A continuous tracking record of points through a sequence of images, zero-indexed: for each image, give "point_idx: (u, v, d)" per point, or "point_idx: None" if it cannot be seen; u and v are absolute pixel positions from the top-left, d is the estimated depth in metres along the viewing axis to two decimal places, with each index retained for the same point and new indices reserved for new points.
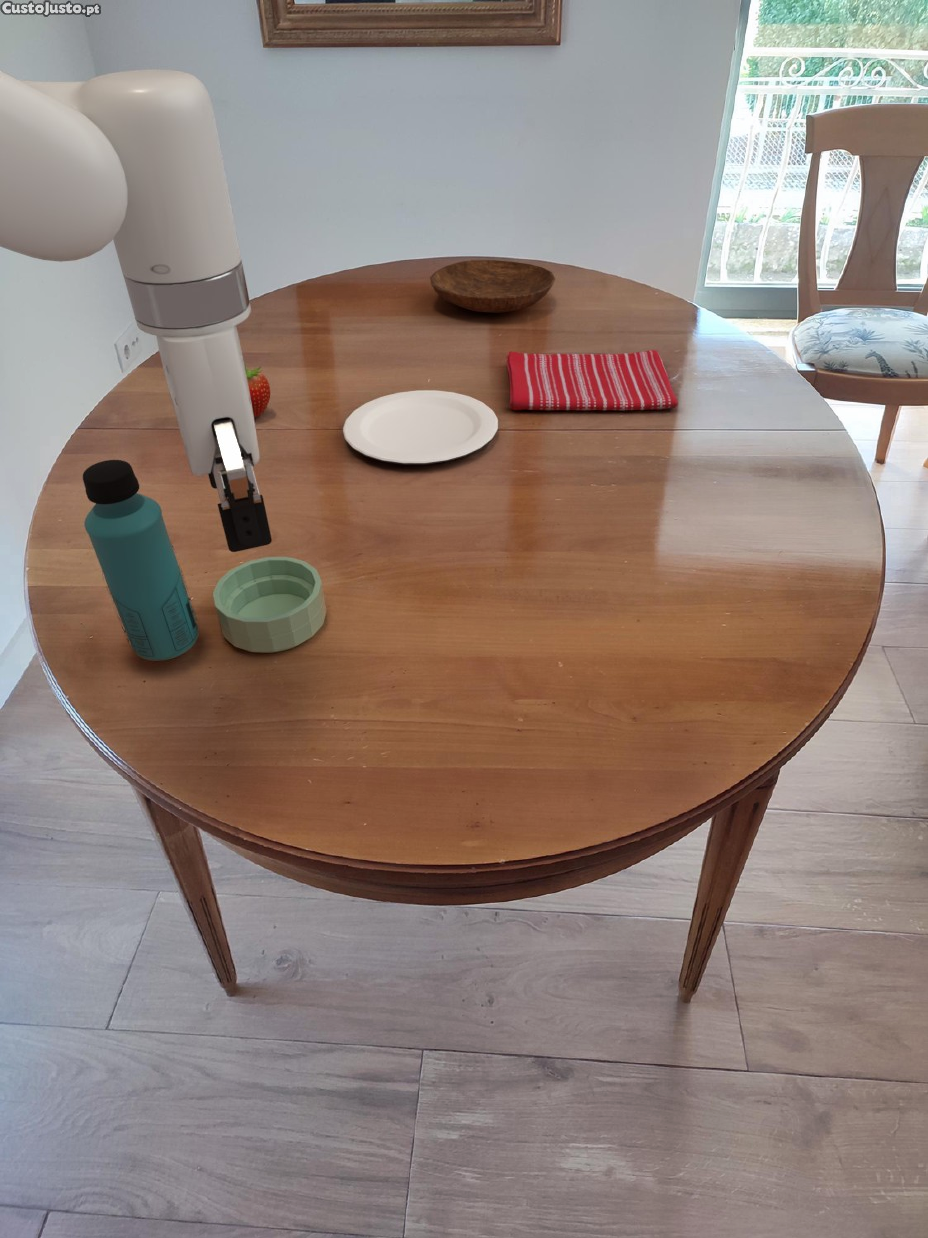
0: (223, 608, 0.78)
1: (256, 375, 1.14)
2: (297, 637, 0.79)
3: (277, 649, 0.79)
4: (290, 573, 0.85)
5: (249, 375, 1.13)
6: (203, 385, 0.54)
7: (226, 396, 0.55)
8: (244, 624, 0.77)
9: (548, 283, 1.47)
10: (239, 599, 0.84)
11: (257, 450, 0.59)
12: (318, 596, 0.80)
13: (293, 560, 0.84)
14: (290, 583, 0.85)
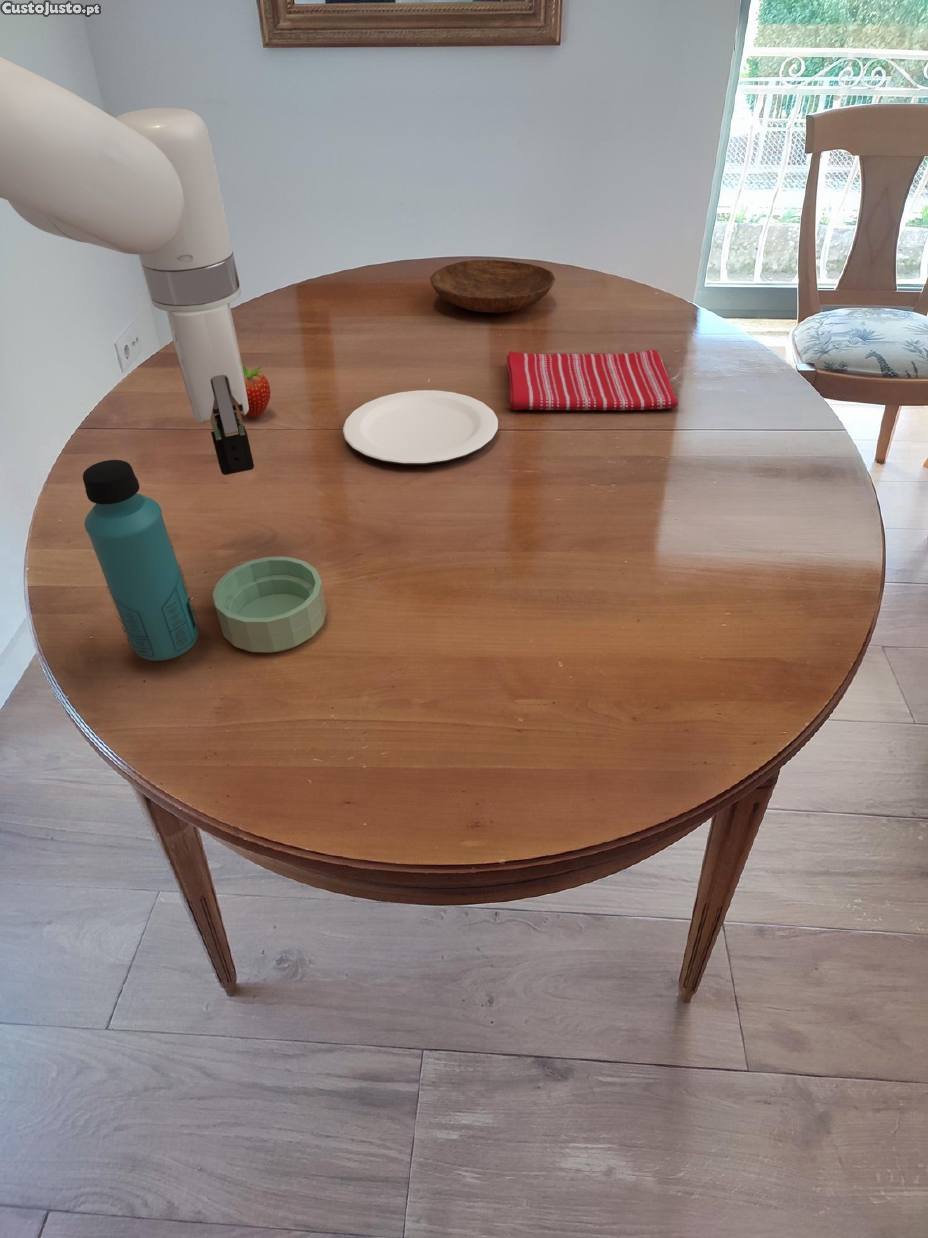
0: (223, 608, 0.78)
1: (256, 375, 1.14)
2: (297, 637, 0.79)
3: (277, 649, 0.79)
4: (290, 573, 0.85)
5: (249, 375, 1.13)
6: (204, 349, 0.70)
7: (222, 358, 0.71)
8: (244, 624, 0.77)
9: (548, 283, 1.47)
10: (239, 599, 0.84)
11: (246, 402, 0.75)
12: (318, 596, 0.80)
13: (293, 560, 0.84)
14: (290, 583, 0.85)
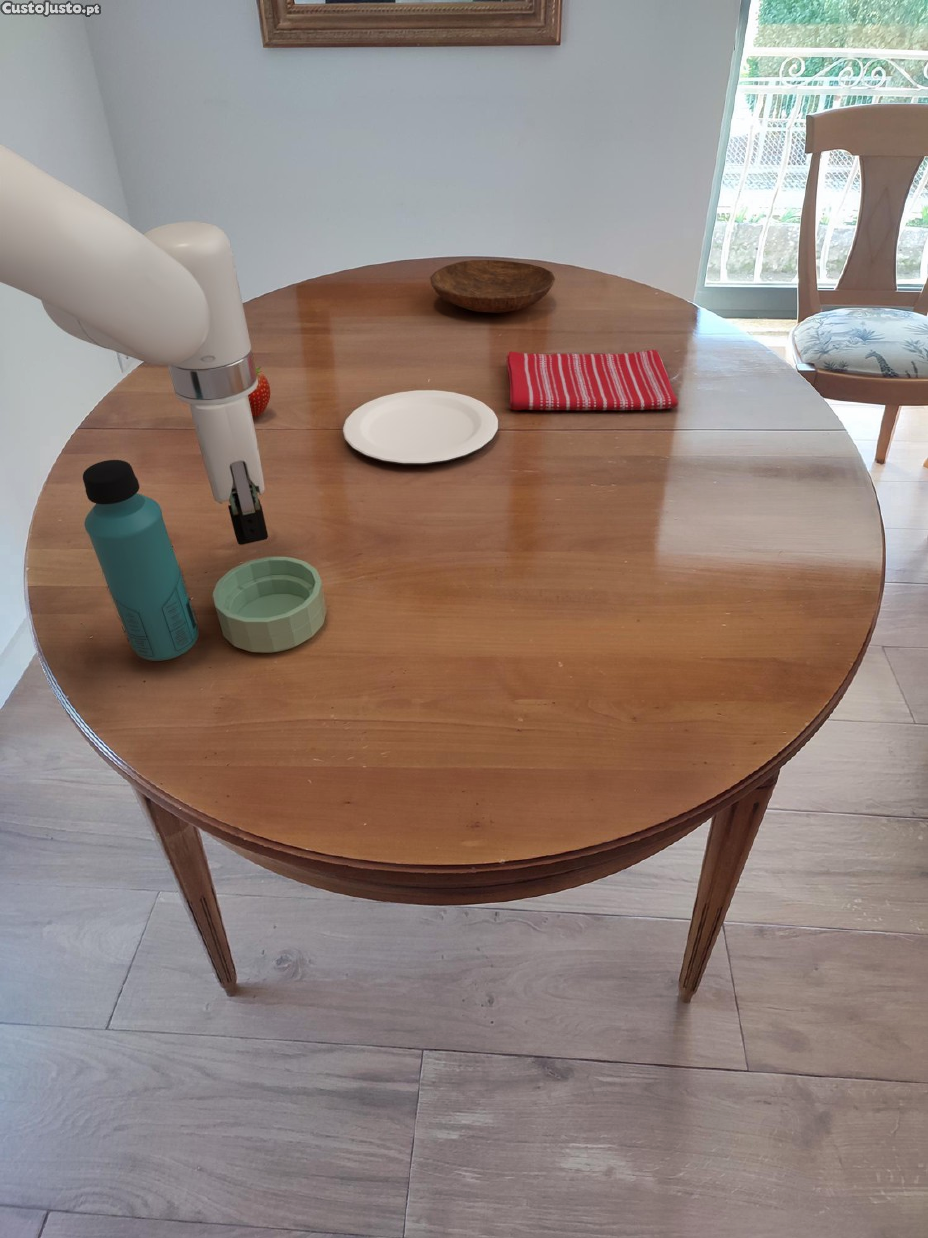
0: (223, 608, 0.78)
1: None
2: (297, 637, 0.79)
3: (277, 649, 0.79)
4: (290, 573, 0.85)
5: None
6: (224, 439, 0.76)
7: (240, 446, 0.77)
8: (244, 624, 0.77)
9: (548, 283, 1.47)
10: (239, 599, 0.84)
11: (263, 483, 0.80)
12: (318, 596, 0.80)
13: (293, 560, 0.84)
14: (290, 583, 0.85)
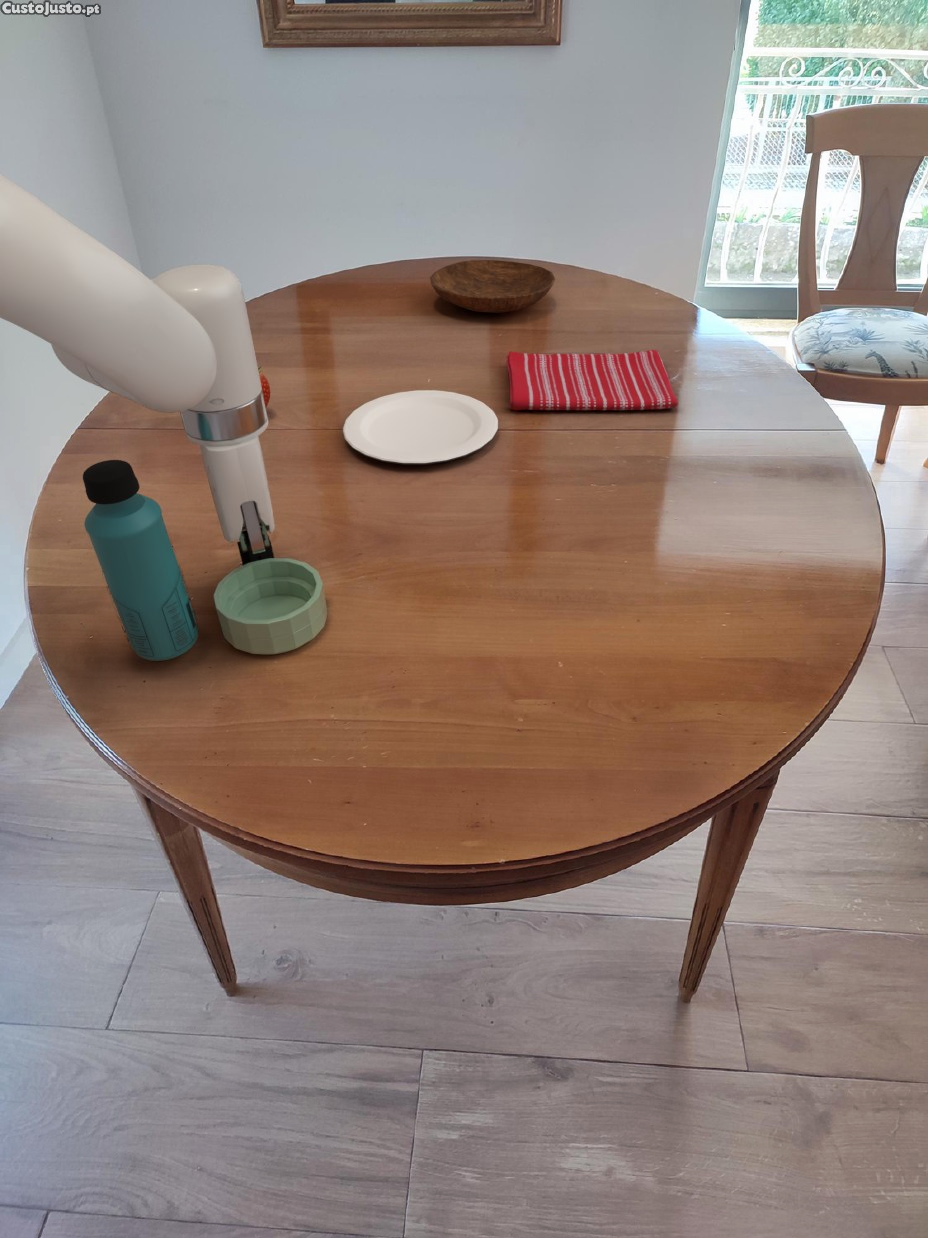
0: (224, 610, 0.78)
1: None
2: (298, 639, 0.79)
3: (278, 651, 0.79)
4: (291, 574, 0.85)
5: None
6: (235, 480, 0.75)
7: (251, 486, 0.76)
8: (245, 626, 0.77)
9: (548, 283, 1.47)
10: (240, 600, 0.83)
11: (273, 522, 0.79)
12: (319, 598, 0.80)
13: (294, 561, 0.84)
14: (291, 585, 0.85)
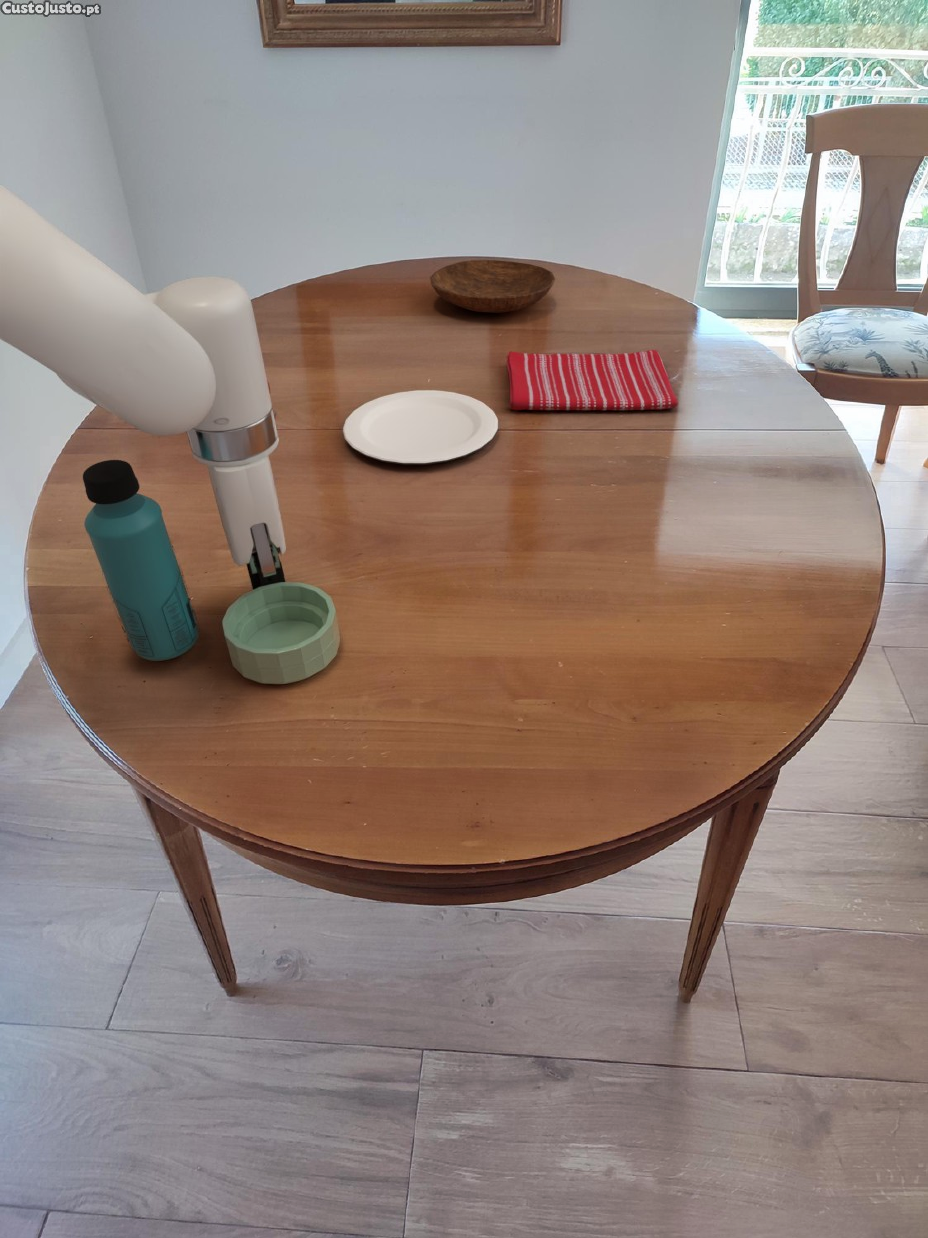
0: (232, 637, 0.75)
1: None
2: (309, 669, 0.76)
3: (288, 681, 0.76)
4: (303, 599, 0.82)
5: None
6: (244, 501, 0.72)
7: (261, 508, 0.73)
8: (254, 655, 0.74)
9: (548, 283, 1.47)
10: (250, 626, 0.80)
11: (284, 544, 0.76)
12: (332, 626, 0.76)
13: (307, 586, 0.81)
14: (303, 610, 0.81)
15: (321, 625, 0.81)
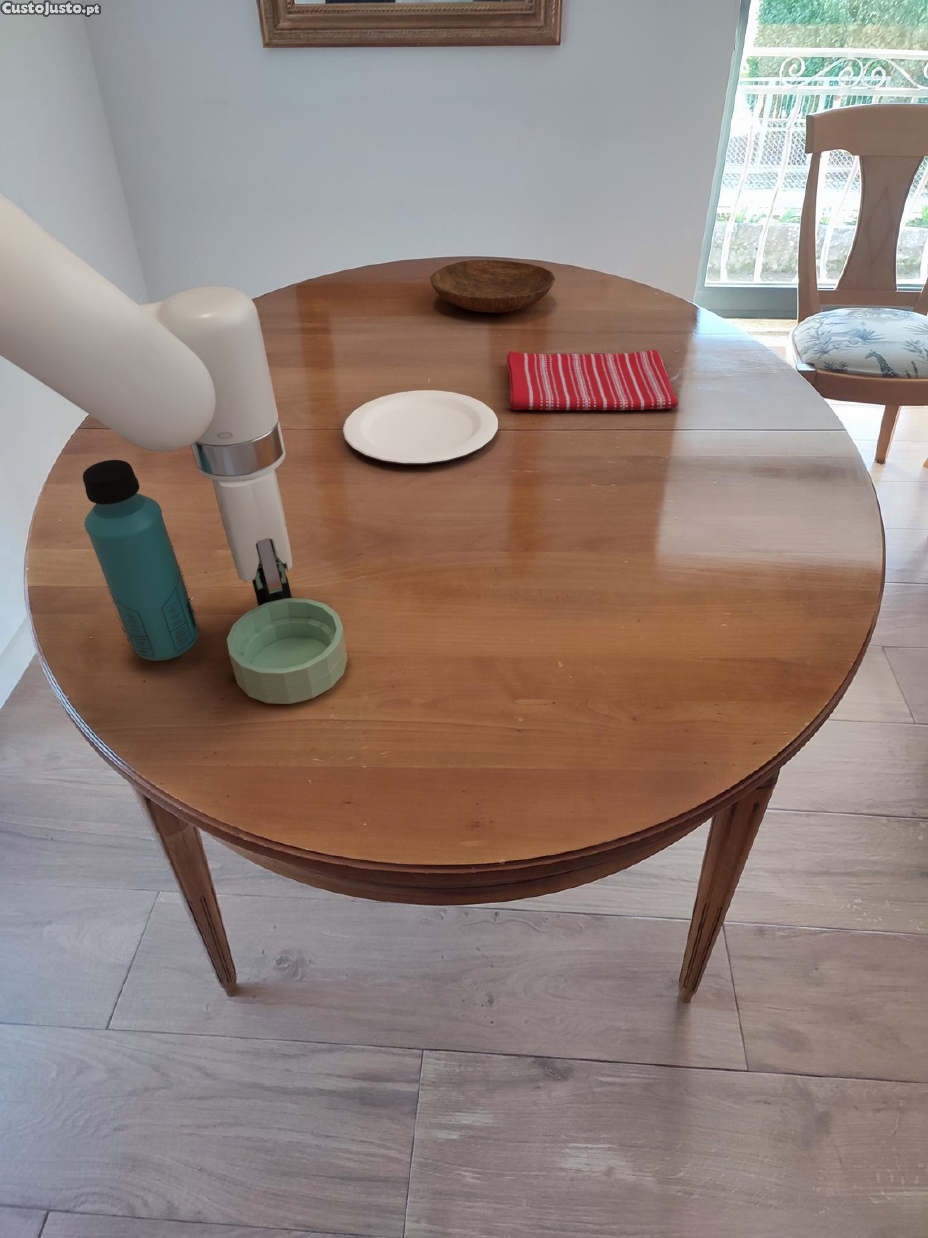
0: (237, 656, 0.73)
1: None
2: (315, 688, 0.74)
3: (293, 701, 0.74)
4: (310, 616, 0.80)
5: None
6: (250, 517, 0.70)
7: (267, 523, 0.71)
8: (259, 675, 0.72)
9: (548, 283, 1.47)
10: (255, 643, 0.78)
11: (291, 560, 0.74)
12: (339, 645, 0.74)
13: (314, 603, 0.79)
14: (310, 627, 0.80)
15: (328, 643, 0.79)
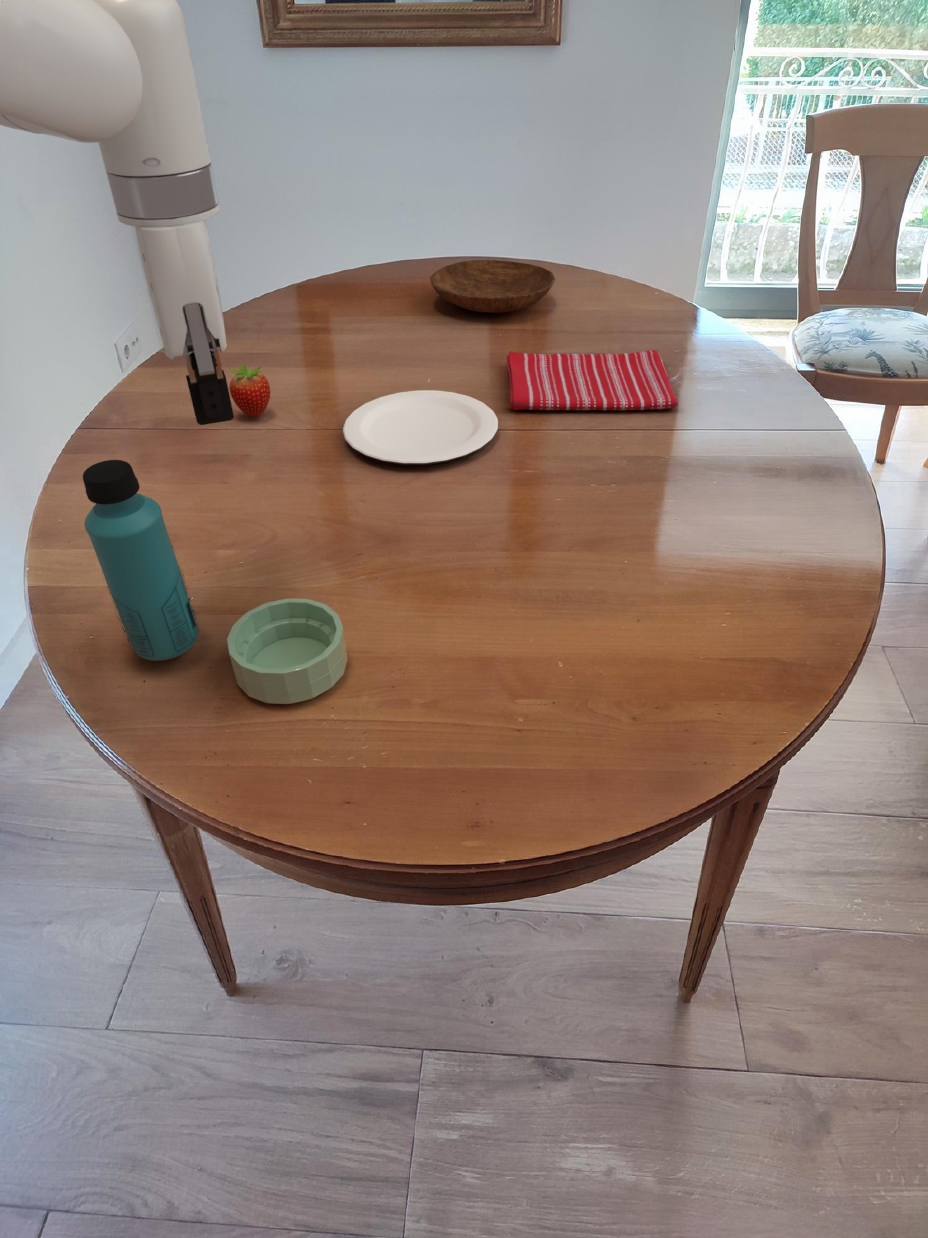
0: (237, 656, 0.73)
1: (256, 375, 1.14)
2: (315, 689, 0.74)
3: (293, 701, 0.74)
4: (310, 616, 0.80)
5: (249, 375, 1.13)
6: (175, 271, 0.62)
7: (196, 283, 0.63)
8: (259, 675, 0.72)
9: (548, 283, 1.47)
10: (255, 643, 0.78)
11: (224, 337, 0.66)
12: (339, 645, 0.74)
13: (314, 603, 0.79)
14: (310, 627, 0.80)
15: (328, 643, 0.79)
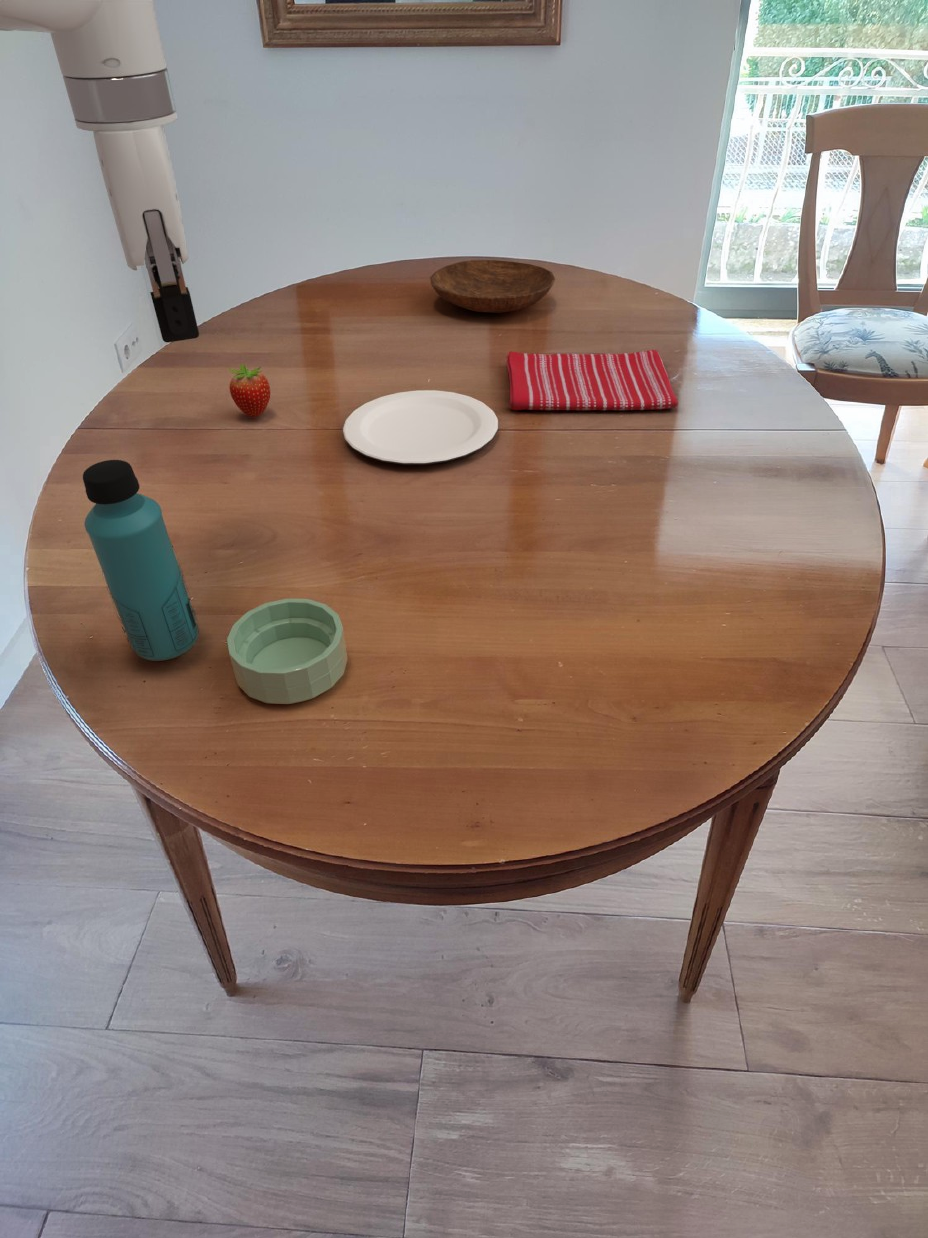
0: (237, 656, 0.73)
1: (256, 375, 1.14)
2: (315, 689, 0.74)
3: (293, 701, 0.74)
4: (310, 616, 0.80)
5: (249, 375, 1.13)
6: (133, 176, 0.63)
7: (154, 188, 0.64)
8: (259, 675, 0.72)
9: (548, 283, 1.47)
10: (255, 643, 0.78)
11: (185, 246, 0.67)
12: (339, 645, 0.74)
13: (314, 603, 0.79)
14: (310, 627, 0.80)
15: (328, 643, 0.79)
